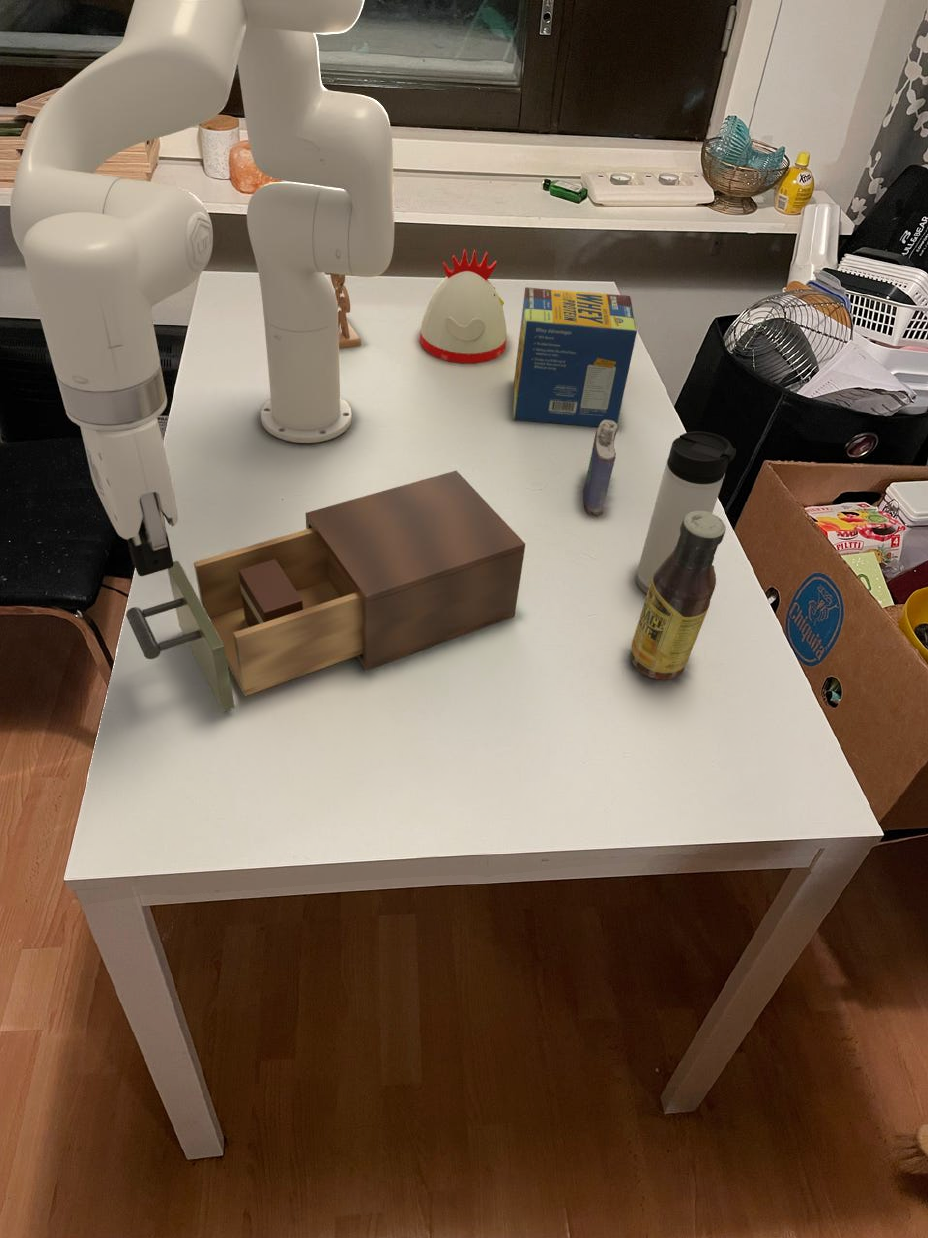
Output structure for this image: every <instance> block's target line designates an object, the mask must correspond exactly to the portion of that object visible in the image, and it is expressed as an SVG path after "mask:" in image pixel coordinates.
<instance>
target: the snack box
mask: <svg viewBox="0 0 928 1238" xmlns="http://www.w3.org/2000/svg"><path fill="white" fill-rule="evenodd" d="M239 578H240V588H241V593H242V601H243V608H244V615H245V620H246V622H247V623H248V625H249V627H252V626H255V625H258V624H261V623H264V622H267V621H270V620H273V619H276V618H280V617H283V616H286V615H289V614H292V613H295V612H298V611H301V610H303V602H302V599H301V598H300V596H299V595H298V593H297V591H296V590H295V588H294V587H293V585H292V584H291V582H290V581H289V579H288V578H287V576H286V575H285V573H284V571H283V570H282V568H281V567H280V565H279V564H278V562H277V561H276V559H273V560H270V561H267V562H264V563H260V564H257V565H254V566H250V567H247V568H244V569H240V570H239Z"/></svg>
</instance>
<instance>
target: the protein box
mask: <svg viewBox="0 0 928 1238" xmlns="http://www.w3.org/2000/svg"><path fill="white" fill-rule="evenodd" d="M522 302H523V303H522V311H521V312H522V313H521V321H520V329H519V337H518V345H517V353H516V362H515V369H514V370H515V371H514V378H513V413H512V414H513V415H512V416H513V417H512V418H513V420H515V421H516V420H518V421H529V422H537V423H538V422H540V423H549V424H550V423H551V424H562V425H563V424H564V425H572V426H574V425H575V426H587V427H597V428H598V427H599V424H600V423H601V422H602V421H603V420H612V421H614V422H615V423H617V424H618V423H619V417H620V415H621V414H620V413H621V408H622V404H623V400H624V399H623V398H624V394H625V389H626V385H627V381H628V376H629V371H630V366H631V361H632V357H633V352H634V348H635V343H636V338H637V334H638V329H637V328H638V327H637V325H636V321H635V315H634V309H633V302H632V297H631V296H630V295H626V294H610V293H599V292H588V291H587V292H585V291H575V290H563V289H562V290H561V289H549V288H548V289H547V288H539V287H538V288H537V287H524V293H523V301H522Z"/></svg>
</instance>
